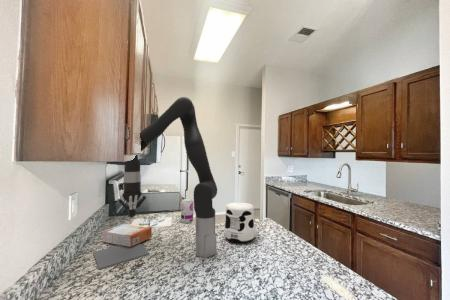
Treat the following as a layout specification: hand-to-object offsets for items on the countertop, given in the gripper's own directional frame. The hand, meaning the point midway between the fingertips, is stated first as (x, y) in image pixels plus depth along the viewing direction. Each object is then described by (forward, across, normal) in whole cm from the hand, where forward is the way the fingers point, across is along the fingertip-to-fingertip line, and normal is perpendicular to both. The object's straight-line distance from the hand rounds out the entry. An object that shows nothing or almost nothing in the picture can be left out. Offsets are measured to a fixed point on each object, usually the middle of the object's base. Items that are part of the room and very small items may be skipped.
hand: (131, 216), depth 99 cm
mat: (+16, -5, 0) cm, 17 cm away
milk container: (+16, +50, -22) cm, 57 cm away
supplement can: (+16, +41, +21) cm, 49 cm away
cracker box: (+12, +6, +4) cm, 15 cm away
